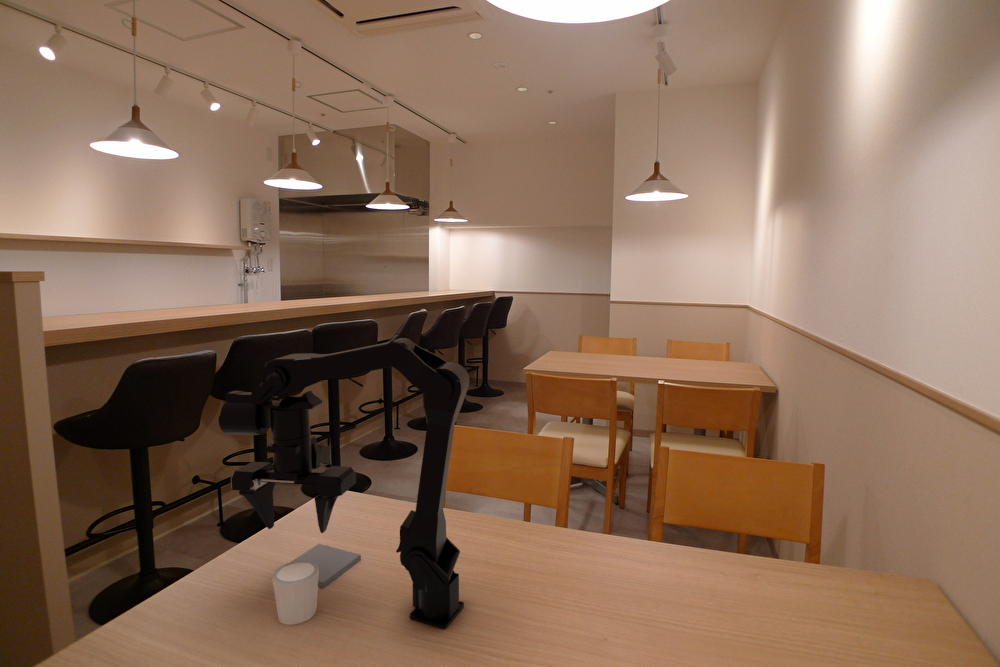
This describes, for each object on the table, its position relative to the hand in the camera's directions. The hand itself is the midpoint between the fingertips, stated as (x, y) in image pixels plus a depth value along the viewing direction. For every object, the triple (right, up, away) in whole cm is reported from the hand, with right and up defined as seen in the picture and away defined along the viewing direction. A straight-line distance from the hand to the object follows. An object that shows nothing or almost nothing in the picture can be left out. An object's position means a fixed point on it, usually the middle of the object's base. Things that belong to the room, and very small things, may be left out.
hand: (297, 529), depth 86 cm
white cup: (+1, -13, -2) cm, 13 cm away
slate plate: (0, -11, +12) cm, 16 cm away
